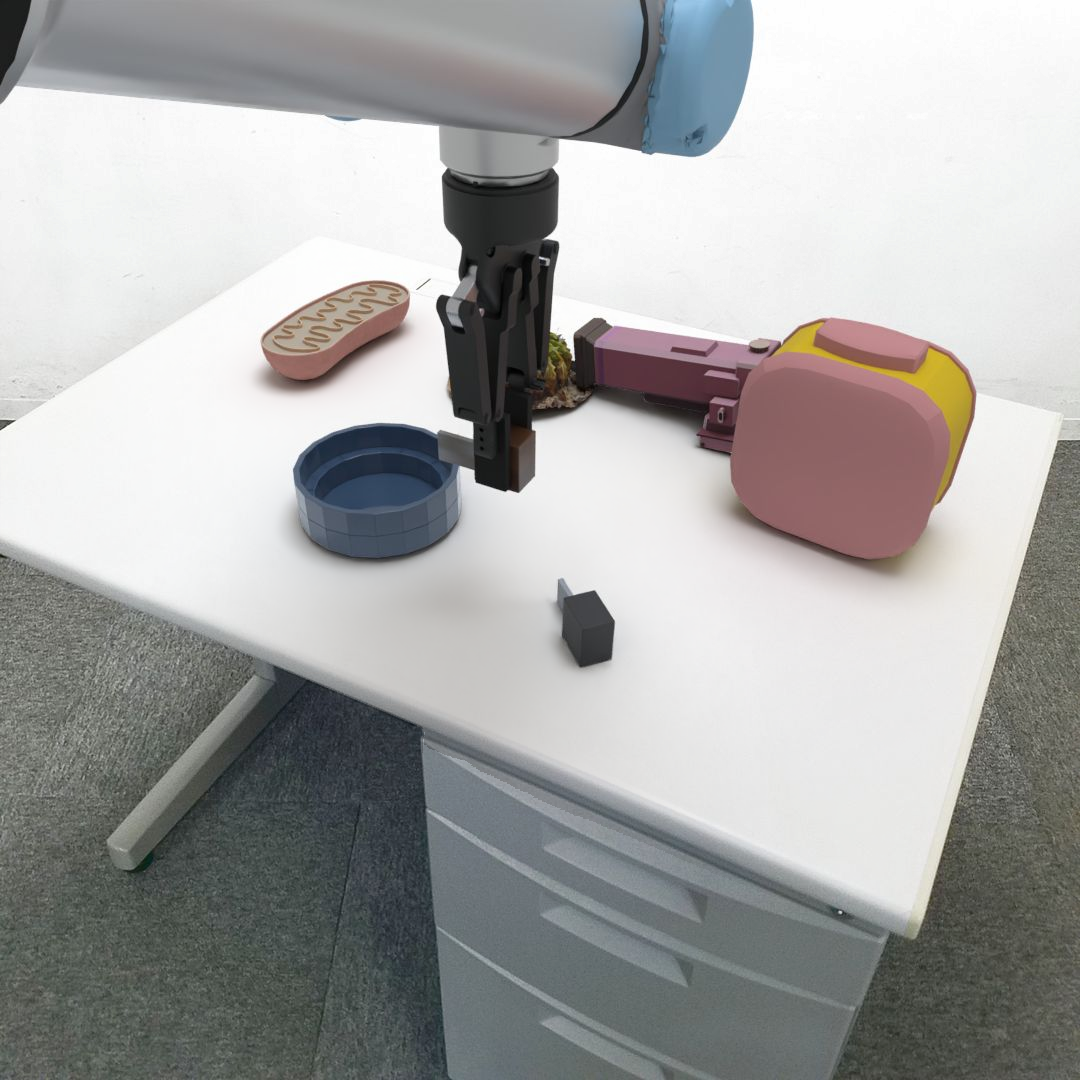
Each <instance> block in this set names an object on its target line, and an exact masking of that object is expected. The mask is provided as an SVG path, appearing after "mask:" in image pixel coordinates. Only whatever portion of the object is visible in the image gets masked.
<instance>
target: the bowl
mask: <svg viewBox="0 0 1080 1080" xmlns="http://www.w3.org/2000/svg"><path fill="white" fill-rule="evenodd" d="M292 474H293V475H292V476H293V484H294V490H295V495H296V501H297V507H298V513H299V519H300V524H301V527H302V529H303V530H304V532H305V533H306V534H307V535H308V537H309V538H310V540H311V541H313V542H315V543H316V544H318V545H320V546H322V547H323V548H325V549H327V550H328V551H331V552H334V553H338V554H342V555H345V556H350V557H352V558H353V557H354V558H372V559H381V558H386V557H387V558H388V557H395V556H402V555H406V554H410V553H412V552H415V551H418V550H420V549H423V548H426V547H429V546H430V545H432V544H433V543H435V542H436V541H438V540H439V539H441V538H442V537H444V536H446V535H447V534H448V533H449V532H450V531H451V529H452V528H453V526H454V525H455V524H456V522H457V521H458V520H459V518H460V513H461V508H462V485H461V466H458V465H455V464H452V463H448V462H445V461H442V460H439V453H438V437H437V433H435V432H433V431H432V430H429V429H427V428H424V427H420V426H416V425H410V424H406V423H395V422H375V423H374V422H373V423H367V424H366V423H365V424H358V425H352V426H349V427H346V428H343V429H339V430H336V431H332V432H330V433H328V434H326V435H324V436H323V437H321V438H318V439H316V440H315V441H313V442H311V444H310V445H308V446H307V448H305V449H304V450H303V451H301V453H300V454H299V455H298V458H297V459H296V461H295V463H294V465H293V468H292Z"/></svg>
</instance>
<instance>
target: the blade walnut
mask: <svg viewBox="0 0 1080 1080" xmlns="http://www.w3.org/2000/svg"><path fill="white" fill-rule="evenodd" d="M436 432H437V433H436V434H437V437H438V453H439V460H442V461H445V462H448V463H452V464H455V465H458V466H460V467H462V468H464V469H468V470H472V471H473V475H474V478H475V455H474V437H473V436H472V438H470V437H467V436H463V435H461V434H456V433H453V432H449V431H446V430H442V429H439V430H438V431H436ZM536 439H537V431H536V430H534V429H532V430H531V429H527V428H524V427H520V426H517V425H513V424H510V488H509V489H508V491H510V492H513V493H516V494H520V493H521V492H522V491H523V490H524V489H525V487H526V486H527V485H528V484H529V483H530V482H531V481H532V480H533V479H534V478H535V477H536V446H537V445H536V443H537V440H536Z"/></svg>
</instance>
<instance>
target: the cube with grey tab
mask: <svg viewBox="0 0 1080 1080" xmlns="http://www.w3.org/2000/svg"><path fill="white" fill-rule="evenodd" d="M556 588H557V589H556V591H557V592H556V593H557V594H556V603H557V604H558V606H559V608H560V610H561V611H562V624H561V625H562V627H561V636H562V638H563V639H564V642H565V643H566V645H567V647H568V648H569V650H570V652H571V653H572V655H573V658H574V659H575V660H576V662H577V664H578V666H579V667H580V668H584V667H587V666H590V665H591V666H592V665H595V664H598V663H602V662H607V661H611V660H612V659H613V648H614V636H615V627H616V626H615V625H616V620H615V618H614V617H613V616H612V614H611V613H610V611H609V610H608V608H607V607H606V605H605V603H604V601H603V600H602V599H601V597H600V595H599V593H598V592H597V591H596V590H595V589H593V590H589V591H585V592H581V593H577V594H573V592H572V590H571V588H570V587H569V585H568V584H567V582H566V581H565V579H564V578H563V577H560V578H558V579H557V587H556Z"/></svg>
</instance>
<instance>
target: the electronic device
mask: <svg viewBox="0 0 1080 1080" xmlns="http://www.w3.org/2000/svg"><path fill="white" fill-rule="evenodd" d="M572 339H573V340H572V341H573V354H574V361H575V370H576V385H577V388H584V389H586V388H589V387H590V386H591V385H594V386H595V385H597V386H601V387H606V388H610V389H618V390H622V391H626V392H627V391H629V392H634V393H640V394H643V400H644V401H645V402H646V403H649V404H653V405H660V406H666V407H672V408H677V409H681V410H687V411H693V412H698V413H704V414H705V416H704V419H703V424H702V427H701V428H700V429H699V430H698V431H697V433H696V434H695V435H696V437H699V447H701V448H706V449H710V450H715V451H720V452H725V453H726V452H727V453H730V454H731V452H732V446H733V440H734V433H735V427H736V421H737V415H738V409H739V403H740V397H741V392H742V389H743V387H744V384H745V382H746V379H747V377H748V374H749V373H750V372H751V371H752V370H753V369H754V368H755V367H756V366H757V365H758V364H759V363H760V362H761V361H763V360H764V359H765V358H768V357H771V356H772V355H773V354H774V353H775V352H776V351H777V350H778V349H779V348H780V347H781V345H782V341H781V340H777V339H769V338H762V337H758V338H757V339H753V340H751V341H749V343H748V344H744V343H737V342H731V341H725V340H724V341H723V340H716V339H711V338H710V339H709V338H702V337H696V336H689V335H684V334H683V335H682V334H675V333H668V332H661V331H654V330H648V329H640V328H635V327H627V326H620V325H611V324H610V323H608V322H607V319H605V318H603V317H593V318H591V319H590V320H589V321H587V322H586V323H585V324H584V325H582V326H581V327H580V328H579V329H577V330H576V331H575V332H574V333H573V336H572Z"/></svg>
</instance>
